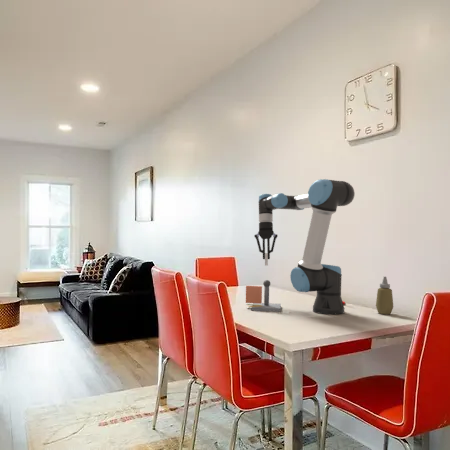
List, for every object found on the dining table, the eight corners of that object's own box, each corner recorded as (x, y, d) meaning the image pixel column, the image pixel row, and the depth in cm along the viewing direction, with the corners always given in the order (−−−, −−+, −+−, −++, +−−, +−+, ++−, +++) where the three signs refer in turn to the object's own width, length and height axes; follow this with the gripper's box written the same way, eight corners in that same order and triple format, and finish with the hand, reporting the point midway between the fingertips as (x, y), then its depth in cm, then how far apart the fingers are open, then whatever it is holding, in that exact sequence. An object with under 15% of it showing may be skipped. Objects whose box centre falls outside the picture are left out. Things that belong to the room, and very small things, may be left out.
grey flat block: (280, 306, 222) (280, 303, 222) (280, 311, 208) (280, 308, 208) (247, 305, 225) (247, 301, 225) (245, 310, 211) (245, 306, 211)
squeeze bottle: (380, 311, 214) (380, 275, 215) (396, 313, 209) (396, 276, 209) (372, 313, 209) (373, 276, 209) (388, 316, 203) (389, 277, 203)
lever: (270, 304, 218) (270, 279, 218) (269, 305, 214) (270, 280, 214) (246, 303, 219) (246, 278, 220) (245, 304, 216) (245, 279, 216)
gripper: (277, 223, 239) (278, 265, 235) (254, 223, 240) (254, 265, 236) (278, 221, 231) (278, 264, 227) (253, 221, 232) (254, 264, 228)
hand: (266, 265), depth 232 cm, fingers closed
